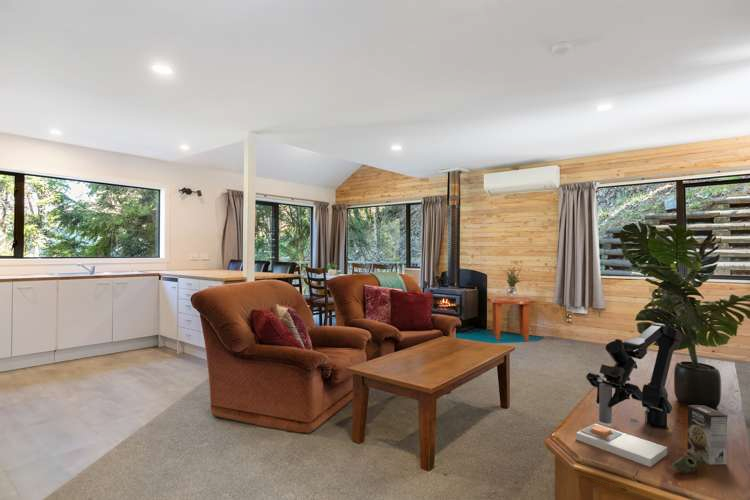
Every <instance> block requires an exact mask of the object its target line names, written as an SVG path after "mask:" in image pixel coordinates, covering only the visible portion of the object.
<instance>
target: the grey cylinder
mask: <svg viewBox="0 0 750 500" xmlns="http://www.w3.org/2000/svg"><path fill="white" fill-rule="evenodd" d="M612 396H613V388H612V385H610V384H605V383H601V384H599V404H598V405H599V406H598V423H599V424H598V425H601V426H604V427H611V426H613V424H612V423H613V422H612V421H613V418H612V417H613V413H612V412H613V409H612V408H613V406H612V407H611V408H609V407H608V404H609V402H610V400H611V398H612Z"/></svg>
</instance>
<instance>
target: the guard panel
mask: <svg viewBox="0 0 750 500" xmlns="http://www.w3.org/2000/svg"><path fill="white" fill-rule="evenodd" d="M597 425H598V426H601V427H604V428H607V429H610V430H611V435H609V436H607V437H603V436H600V435H597V434H594V433H592V432H591V428H593V427H595V426H597ZM575 440H576V441H580V442H582V443H584V444H588V445H590V446H593V447H596V448H598V449H601V450H604V451H606V452H609V453H612V454H614V455H617V456H619V457H622V458H625V459H627V460H631V461H633V462H635V463H638V464H641V465H644V466H646V467H649V468H651V467H652V466H653V465H655V464H656V463H658V462H660V461H661V460H662V459H663V458H664V457H666V456H668V447H667V446H665V445H661V444H658V443H655V442H652V441H649V440H647V439H643V438H639V437H637V436H634V435H630V434H629V433H628V434H627V433H624V432H621V431H618V430H616V429H613V428H609V427H608V426H603V425H601V424H598V423H593V424H591V425H589V426H588V427H585V428H583V429H581V430H579V431H577V432H576V435H575Z"/></svg>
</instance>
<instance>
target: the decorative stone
mask: <svg viewBox="0 0 750 500" xmlns="http://www.w3.org/2000/svg"><path fill="white" fill-rule="evenodd" d="M702 460H703V458H702V457H699V456H694V455H681V456H680V457H678V458H677V459H676V460H675V461H673V462H672V464H671V466H672V467H673V468H674V470H675V471H676V472H680V473H684V474H691V473H694V472H696V471H697V470H699V468H700V467H701V465H702V462H703V461H702Z"/></svg>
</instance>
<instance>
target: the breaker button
mask: <svg viewBox="0 0 750 500" xmlns="http://www.w3.org/2000/svg"><path fill="white" fill-rule="evenodd" d="M598 425H599V424H598ZM598 425H597V426H595V427H593V428H591V432H592V433H594V434H597V435H600V436H603V437H607V436H609V435H611V430H610V429H611V428H610V429H607V428H608V427H607V428H604V427H605V426H604V427H601V426H602V425H601V426H598Z"/></svg>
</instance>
